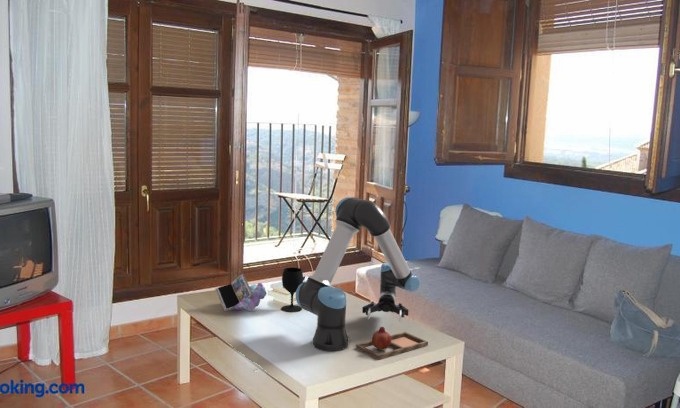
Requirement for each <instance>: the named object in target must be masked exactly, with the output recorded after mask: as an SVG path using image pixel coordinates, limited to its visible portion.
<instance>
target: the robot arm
mask: <svg viewBox="0 0 680 408" xmlns="http://www.w3.org/2000/svg"><path fill="white" fill-rule="evenodd" d="M334 211H335V216H336V219H335V220H334V222H335V225H336V226H335V228H334V231H333V233H332V234H331V236H330V239H329V240H328V243H327V245H326V247H325V249H324V252H323V254H322V256H321V258H320V260H319V262H318V264H317V266H316V268H315V270H314V272H313V274H312V275H309V276H308V278H307V279H306V281H303V283H302V284H300V285H299V286H298V288H297V290H296V292H295V301H296V303H297V306H300V307H302V310H304V311H306V312H309V313H310V314H311V313H312V314H313V315H315V316H317V319H316V320H317V321H316V325H317V326H316V329H315V330H314V331H315V332H314V334H313V337H312V346H313V347H314V348H316V349H317V350H319V351H324V352H326V351H327V352H337V351H339V352H340V351H342V350H343V351H344V350H346V349H347V348H348V347H349V343H350V342H349V339H350V338H349V337H348V333H347V328H346V315H347V314H346V312H347V295H346V292H345V291H344V290H343V289H341V288H338V287H334V286H333V285H332V282H333V280H334V277H335V275H336V274H337V271H338V269H339V267H340V264H341V263H342V260H343V258H344V256H345V254H346V252H347V250H348V247H349V245H350V243H351V241H352V239H353V237H354V235H355V234H357V233H359V232H360V230H361V228H362V227H363V228H364V229H366V230H367V231H368V233H369V234H370V236H372V237H374V239H375V240H376V243H377V244H378V246H379V247H378V248H380V251H381V253H382V254H383V256H384V258H385V261H386V262H384V263H381V265H380V282H379V283H380V286H379V287H380V288H379V296H378V297H379V298H378V302H377V303H375V301H371V302H370V303H368V304H366V305H363V306H362V308H361V309H362V313H363V314H365V315H366V316H367V320H370V317H371V313H374V312H385V313H389V312H391V313H395V314H398V315H399V320H398V321H399V322H402V318H405V316H406V317H407V316H409V309H408V308H406V307H405V306H403V305H402V303H398V304H396V297H397V288H400V289H401V290H404V291H406V292H412V293H414V292H416V291H417V290H418V289H419V288H420V284H421V279H420V278H419V276H416V274H413V273H412V271H411V269H410V267H409V265H408V263H407V260H406V259H405V257H404V255H403V253H402V250H401V249H400V247H399V244H398V243H397V240H396V239H395V237H394V235H393V233H392V231H391V224H390V223H391V222H390V221H389V219H388V217H387V215H386V214H385V213H384V211H383V210H382V209H381V208H380V206H379V205H378V204H376V203H375V202H374V201H372V200H367V199H366V200H365V199H363V198H357V197H353V196H352V197H350V196H347V197H344V198H342V199H341V200H339V202H338V203H337V204H336V206H335V210H334Z"/></svg>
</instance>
